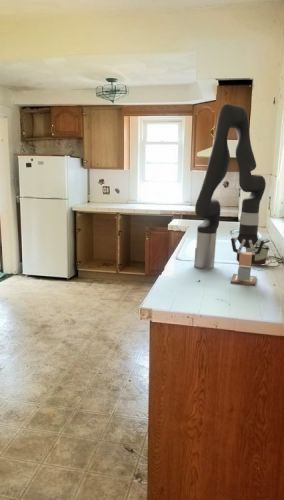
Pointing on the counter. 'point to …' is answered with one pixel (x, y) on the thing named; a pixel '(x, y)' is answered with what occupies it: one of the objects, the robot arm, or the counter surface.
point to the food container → (259, 257)
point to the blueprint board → (243, 282)
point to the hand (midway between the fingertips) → (245, 262)
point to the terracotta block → (245, 258)
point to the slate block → (244, 272)
